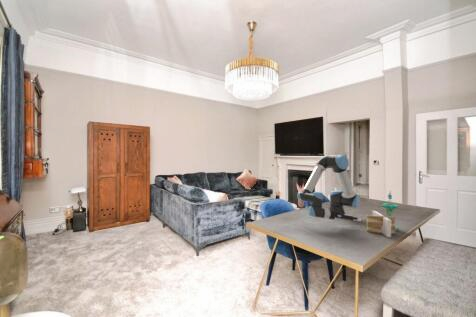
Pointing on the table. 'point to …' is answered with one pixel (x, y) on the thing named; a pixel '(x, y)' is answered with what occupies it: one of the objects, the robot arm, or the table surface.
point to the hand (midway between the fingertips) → (357, 218)
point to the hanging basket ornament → (390, 208)
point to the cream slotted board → (384, 224)
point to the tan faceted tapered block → (377, 223)
